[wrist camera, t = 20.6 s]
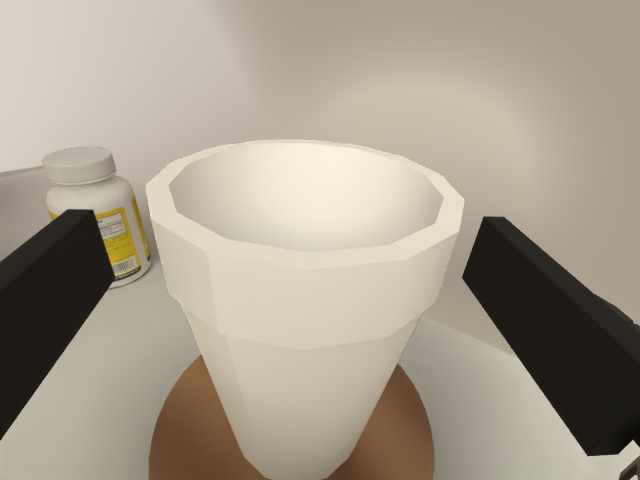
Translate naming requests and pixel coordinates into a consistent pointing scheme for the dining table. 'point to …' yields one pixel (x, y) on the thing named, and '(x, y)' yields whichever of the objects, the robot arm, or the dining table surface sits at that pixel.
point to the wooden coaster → (241, 476)
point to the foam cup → (301, 284)
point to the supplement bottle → (100, 205)
